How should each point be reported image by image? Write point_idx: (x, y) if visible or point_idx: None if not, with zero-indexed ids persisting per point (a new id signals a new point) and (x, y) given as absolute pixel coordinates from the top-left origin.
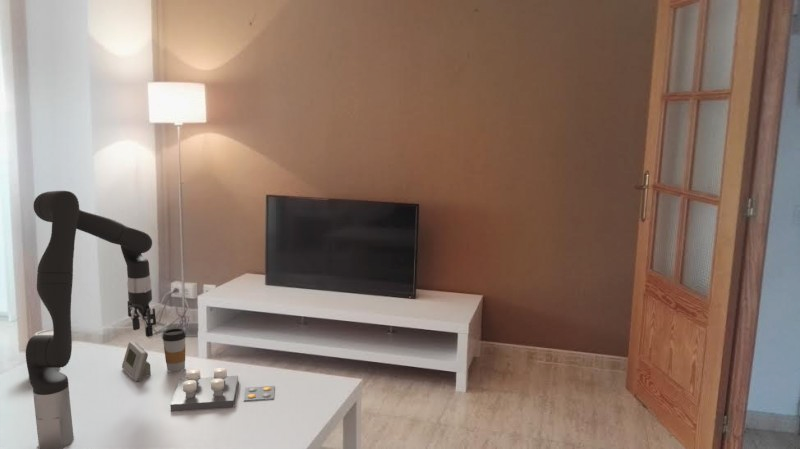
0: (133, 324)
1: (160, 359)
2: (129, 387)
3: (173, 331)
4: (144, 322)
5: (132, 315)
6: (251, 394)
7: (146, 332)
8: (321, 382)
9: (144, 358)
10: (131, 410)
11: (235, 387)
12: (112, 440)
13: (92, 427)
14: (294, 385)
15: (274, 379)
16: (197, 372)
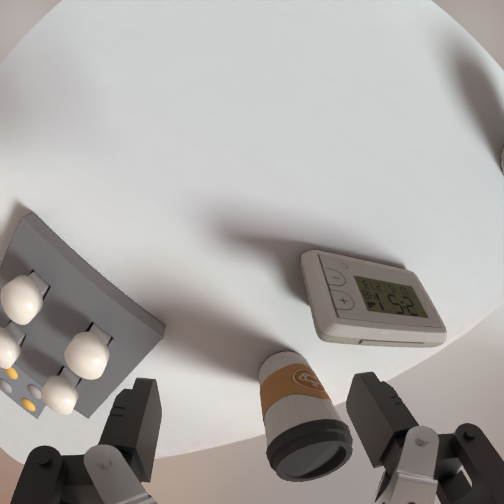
0: (379, 404)
1: (372, 365)
2: (284, 215)
3: (334, 458)
4: (128, 486)
5: (405, 482)
6: (16, 376)
7: (131, 402)
8: (26, 448)
9: (314, 317)
10: (117, 131)
11: (30, 376)
12: (27, 41)
13: (118, 16)
14: (31, 431)
15: (68, 437)
16: (73, 366)
